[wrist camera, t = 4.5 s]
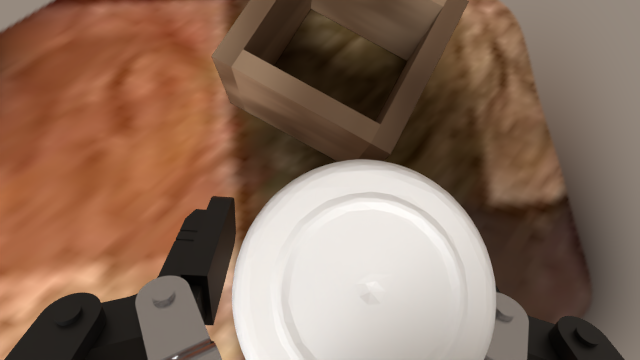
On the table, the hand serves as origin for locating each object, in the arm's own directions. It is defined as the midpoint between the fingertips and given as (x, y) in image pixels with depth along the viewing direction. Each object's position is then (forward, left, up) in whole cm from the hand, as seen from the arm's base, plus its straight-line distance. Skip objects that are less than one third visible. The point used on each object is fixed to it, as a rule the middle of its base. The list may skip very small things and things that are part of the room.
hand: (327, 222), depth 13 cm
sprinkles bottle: (+1, -1, -6) cm, 7 cm away
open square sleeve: (-3, +9, -6) cm, 11 cm away
